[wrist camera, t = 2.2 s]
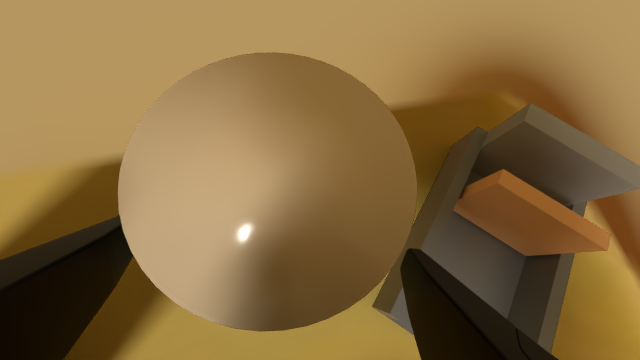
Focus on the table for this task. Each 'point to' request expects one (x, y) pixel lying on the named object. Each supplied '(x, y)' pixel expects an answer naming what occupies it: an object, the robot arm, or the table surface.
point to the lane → (488, 251)
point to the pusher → (527, 217)
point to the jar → (267, 191)
